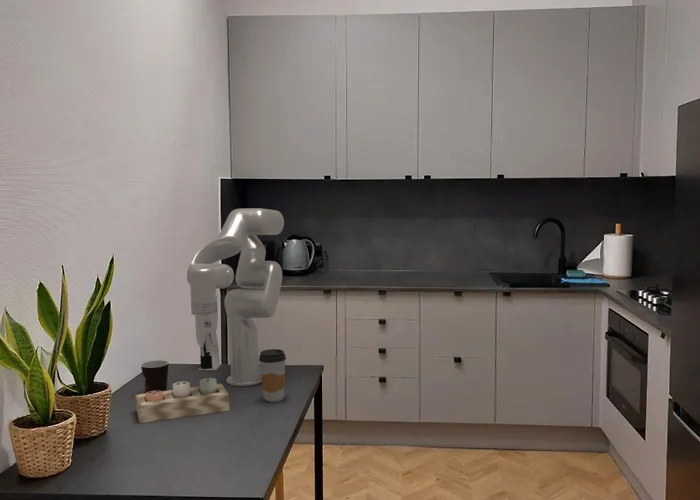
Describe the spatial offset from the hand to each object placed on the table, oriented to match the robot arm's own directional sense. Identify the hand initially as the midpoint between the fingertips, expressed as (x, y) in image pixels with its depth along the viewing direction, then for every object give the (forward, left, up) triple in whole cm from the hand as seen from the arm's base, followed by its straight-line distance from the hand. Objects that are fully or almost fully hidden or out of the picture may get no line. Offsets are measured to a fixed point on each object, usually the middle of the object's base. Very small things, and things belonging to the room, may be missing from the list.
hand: (206, 368), depth 223 cm
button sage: (0, 0, -9) cm, 9 cm away
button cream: (+8, 0, -9) cm, 12 cm away
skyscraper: (-8, -44, -13) cm, 47 cm away
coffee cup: (-20, +1, -12) cm, 24 cm away
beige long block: (+8, 0, -12) cm, 14 cm away
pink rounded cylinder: (+16, 0, -11) cm, 19 cm away
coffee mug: (+13, -22, -12) cm, 29 cm away
